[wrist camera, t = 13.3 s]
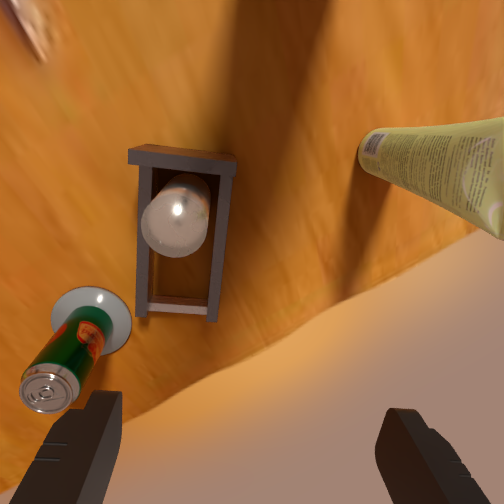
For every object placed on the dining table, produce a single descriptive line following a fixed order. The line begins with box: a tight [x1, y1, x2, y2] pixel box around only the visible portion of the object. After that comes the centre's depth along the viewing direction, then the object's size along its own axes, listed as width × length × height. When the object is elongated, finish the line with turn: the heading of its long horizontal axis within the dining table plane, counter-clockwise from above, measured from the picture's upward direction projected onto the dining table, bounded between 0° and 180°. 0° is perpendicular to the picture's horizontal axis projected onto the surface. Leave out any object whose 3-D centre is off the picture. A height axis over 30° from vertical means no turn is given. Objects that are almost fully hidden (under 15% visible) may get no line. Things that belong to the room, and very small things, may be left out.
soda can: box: [19, 306, 113, 414], centre depth 37 cm, size 5×5×12 cm
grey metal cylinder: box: [141, 174, 211, 258], centre depth 33 cm, size 5×5×12 cm
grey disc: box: [51, 286, 132, 355], centre depth 43 cm, size 9×9×1 cm
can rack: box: [128, 144, 237, 322], centre depth 36 cm, size 18×9×8 cm, turn 173°
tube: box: [358, 117, 504, 241], centre depth 30 cm, size 6×5×20 cm
